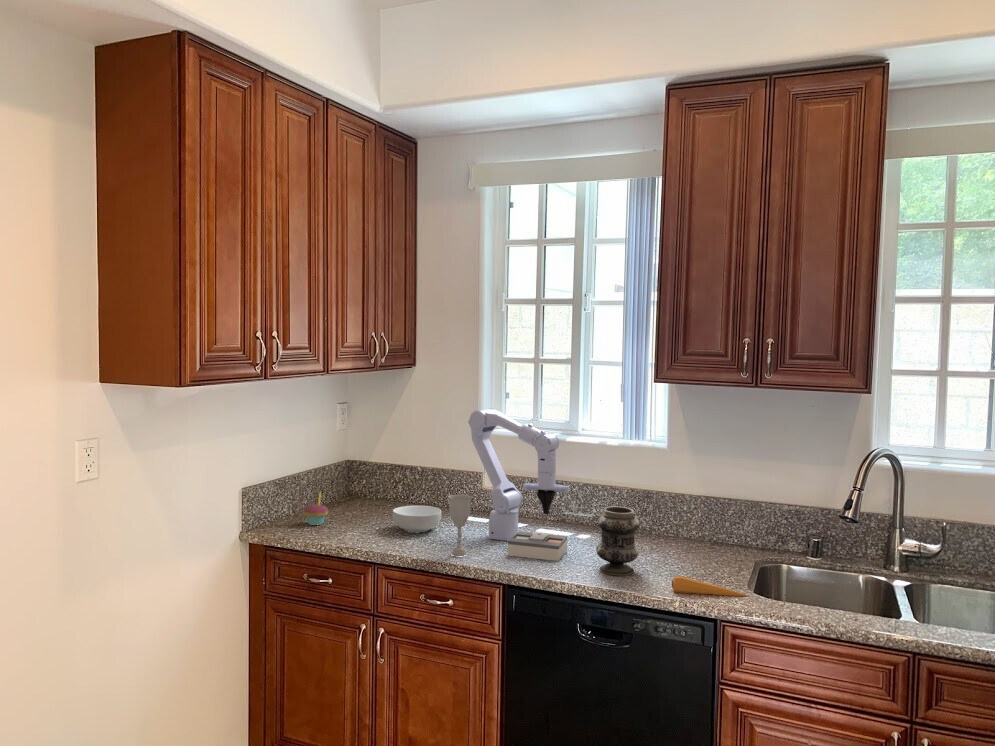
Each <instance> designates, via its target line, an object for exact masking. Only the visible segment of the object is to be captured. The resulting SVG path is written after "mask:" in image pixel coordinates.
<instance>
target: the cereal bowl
mask: <svg viewBox="0 0 995 746" xmlns="http://www.w3.org/2000/svg"><path fill="white" fill-rule="evenodd" d="M441 518H442V510H441V508H439V507H435V506H431V505H404V506H400V507H399V506H398V507H395V508H394V509H393V510H392V521H393V522H394V524H395V525H396V526H397V527H398V528H400V529H402V530H404V531H405V530H406V531H409V532H408V533H410V532H423V533H426V532H428V531H429V530H430V529H433V528H435V527H437V526H438V525H439V523H440V522H441ZM427 530H428V531H427ZM406 531H405V532H406ZM425 531H426V532H425Z"/></svg>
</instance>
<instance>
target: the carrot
mask: <svg viewBox="0 0 995 746" xmlns="http://www.w3.org/2000/svg"><path fill="white" fill-rule="evenodd" d="M671 588H672V590H673V592H675V593H677V592H680V593H679V594H688V593H696V594H695V595H705V594H713V595H712V596H722V595H725V597H748V595H747V594H744V593H740V592H738V591H734V590H731V589H728V588H725V587H721V586H717V585H715V584H711V583H707V582H703V581H700V580H697V579H692V578H690V577H685V576H680V575H679V576H678V575H677V576H674V578H673V579H672V580H671Z"/></svg>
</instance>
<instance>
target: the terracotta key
mask: <svg viewBox="0 0 995 746" xmlns="http://www.w3.org/2000/svg"><path fill="white" fill-rule="evenodd" d="M547 542H556V543H561V541H560V540H550V539H549V540H548V541H547Z"/></svg>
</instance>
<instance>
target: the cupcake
mask: <svg viewBox="0 0 995 746" xmlns="http://www.w3.org/2000/svg"><path fill="white" fill-rule="evenodd" d="M321 497H322V489H320V491H319V493H318V502H317V503H313V504H311V505H308V506H306V508H304V509H303V516H304V517H305V518H306V520H307V522H308V525H309V524H321V523H323V524H324V522H325V520H326V519H325V518H326V517H327V516H328V514H329V509H328V508H327V506H326V505H324V504H321Z"/></svg>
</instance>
